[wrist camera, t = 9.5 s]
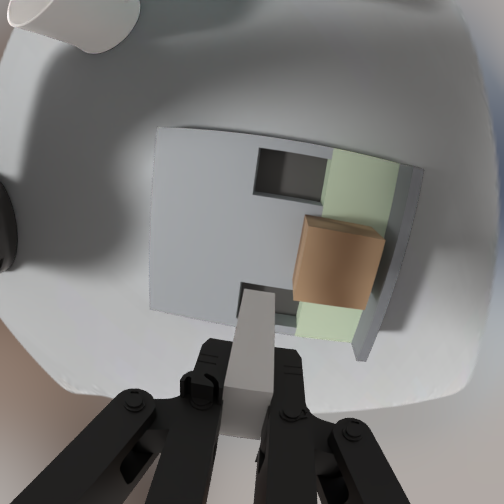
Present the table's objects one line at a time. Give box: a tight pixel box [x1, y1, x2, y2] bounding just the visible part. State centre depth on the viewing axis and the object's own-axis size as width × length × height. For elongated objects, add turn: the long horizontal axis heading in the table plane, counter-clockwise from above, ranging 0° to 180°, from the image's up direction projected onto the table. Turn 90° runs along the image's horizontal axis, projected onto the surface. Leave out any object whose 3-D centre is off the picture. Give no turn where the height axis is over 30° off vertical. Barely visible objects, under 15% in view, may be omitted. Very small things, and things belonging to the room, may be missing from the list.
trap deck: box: [149, 127, 424, 362], centre depth 26 cm, size 22×18×5 cm
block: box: [292, 214, 386, 310], centre depth 24 cm, size 6×6×4 cm
